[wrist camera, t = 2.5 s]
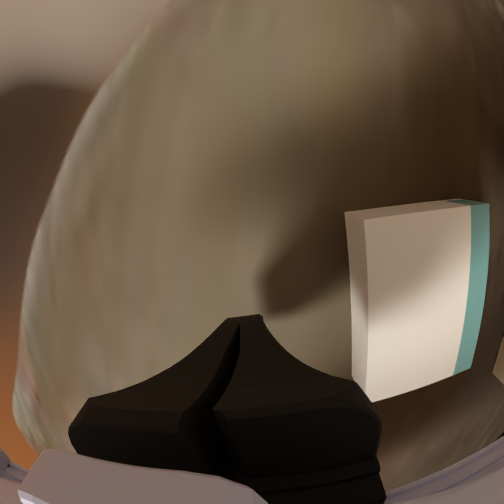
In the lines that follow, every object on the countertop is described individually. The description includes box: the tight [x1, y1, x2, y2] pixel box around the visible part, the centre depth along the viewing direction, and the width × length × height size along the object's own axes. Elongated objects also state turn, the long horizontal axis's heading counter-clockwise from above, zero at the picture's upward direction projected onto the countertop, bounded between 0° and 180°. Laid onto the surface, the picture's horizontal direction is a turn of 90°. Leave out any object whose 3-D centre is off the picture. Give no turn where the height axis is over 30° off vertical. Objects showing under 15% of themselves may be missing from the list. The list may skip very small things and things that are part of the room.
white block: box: [344, 198, 490, 402], centre depth 11 cm, size 6×8×2 cm
